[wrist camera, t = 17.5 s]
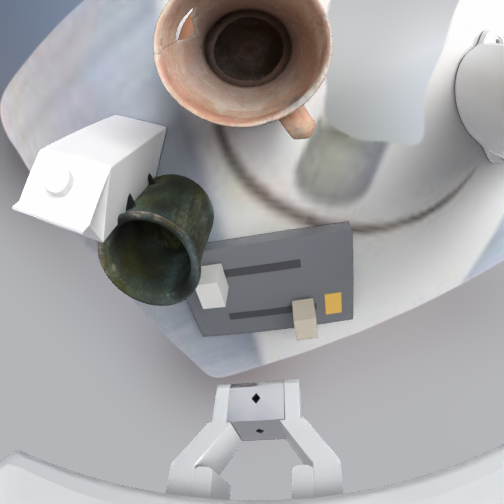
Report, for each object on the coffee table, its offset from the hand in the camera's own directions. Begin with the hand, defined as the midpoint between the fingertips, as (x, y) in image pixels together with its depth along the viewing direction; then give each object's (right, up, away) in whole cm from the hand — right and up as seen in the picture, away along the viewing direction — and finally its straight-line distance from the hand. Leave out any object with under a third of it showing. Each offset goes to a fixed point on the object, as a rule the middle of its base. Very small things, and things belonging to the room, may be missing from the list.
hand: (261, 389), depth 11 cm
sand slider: (+7, -3, +34) cm, 35 cm away
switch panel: (+2, +1, +34) cm, 34 cm away
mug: (-11, +12, +28) cm, 32 cm away
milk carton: (-15, +18, +24) cm, 33 cm away
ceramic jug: (0, +26, +18) cm, 32 cm away
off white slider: (-5, +2, +31) cm, 32 cm away
